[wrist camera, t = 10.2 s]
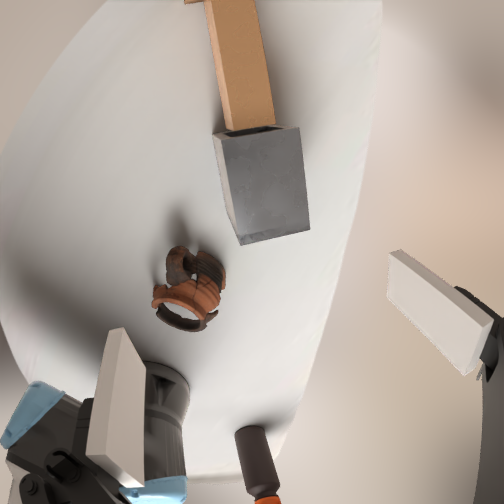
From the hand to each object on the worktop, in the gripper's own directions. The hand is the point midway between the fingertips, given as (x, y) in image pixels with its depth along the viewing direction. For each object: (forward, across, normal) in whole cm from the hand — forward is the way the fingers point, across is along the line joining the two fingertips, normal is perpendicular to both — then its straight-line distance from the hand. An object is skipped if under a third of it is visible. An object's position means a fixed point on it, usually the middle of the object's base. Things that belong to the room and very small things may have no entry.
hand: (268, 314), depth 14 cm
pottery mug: (+26, +6, +10) cm, 29 cm away
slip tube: (+23, -5, -17) cm, 29 cm away
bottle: (+27, +6, +53) cm, 60 cm away
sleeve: (+26, -5, -2) cm, 26 cm away
